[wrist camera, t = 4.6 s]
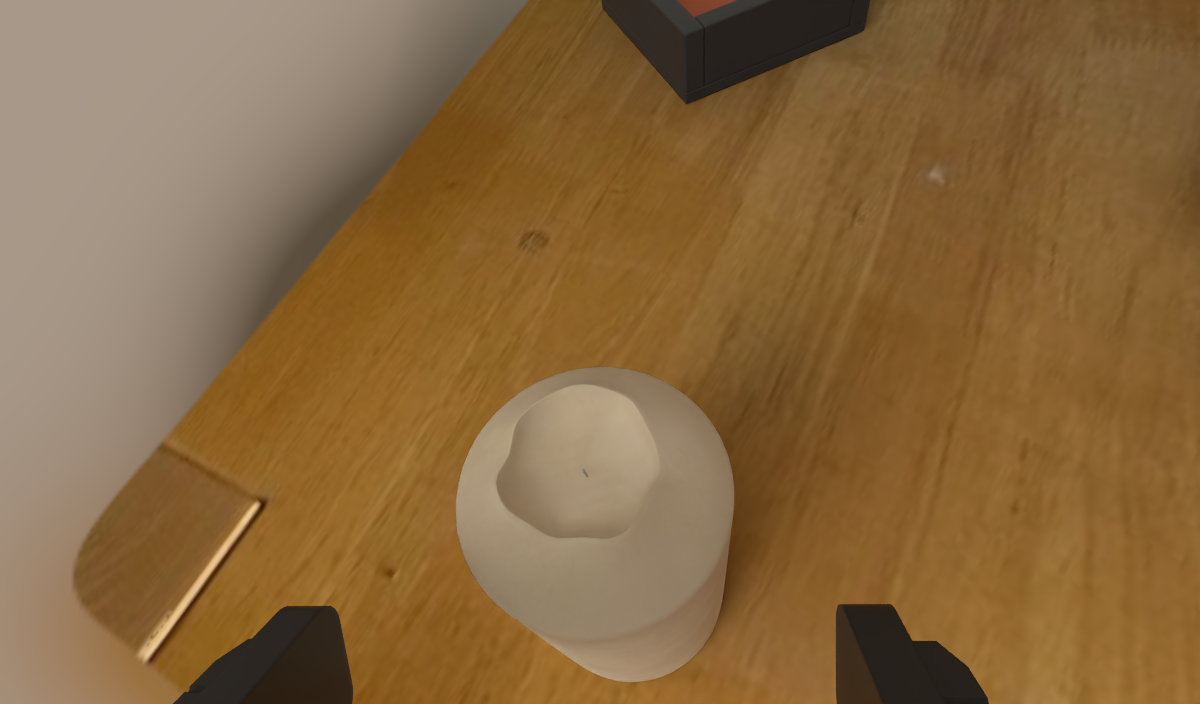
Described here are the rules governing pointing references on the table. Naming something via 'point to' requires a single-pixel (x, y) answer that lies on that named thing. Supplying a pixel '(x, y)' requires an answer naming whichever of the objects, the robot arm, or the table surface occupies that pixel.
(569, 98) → the table surface
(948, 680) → the robot arm
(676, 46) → the tray
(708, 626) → the candle
